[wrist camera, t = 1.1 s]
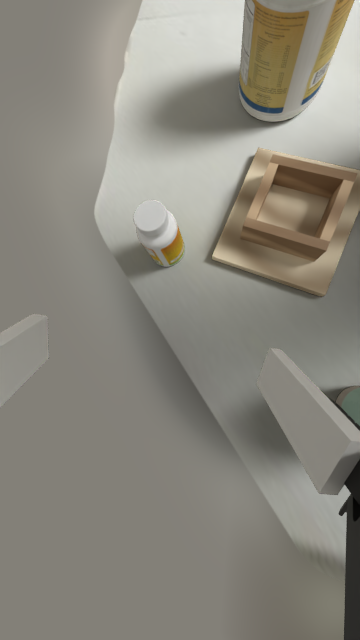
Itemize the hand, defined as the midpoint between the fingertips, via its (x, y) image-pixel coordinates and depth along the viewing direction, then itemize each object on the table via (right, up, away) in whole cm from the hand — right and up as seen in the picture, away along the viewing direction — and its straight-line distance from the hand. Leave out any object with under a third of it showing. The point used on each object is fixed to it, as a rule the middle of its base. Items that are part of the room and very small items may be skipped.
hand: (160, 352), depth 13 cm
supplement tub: (+17, +38, +22) cm, 47 cm away
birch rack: (+17, +16, +19) cm, 30 cm away
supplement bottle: (-1, +13, +22) cm, 25 cm away
